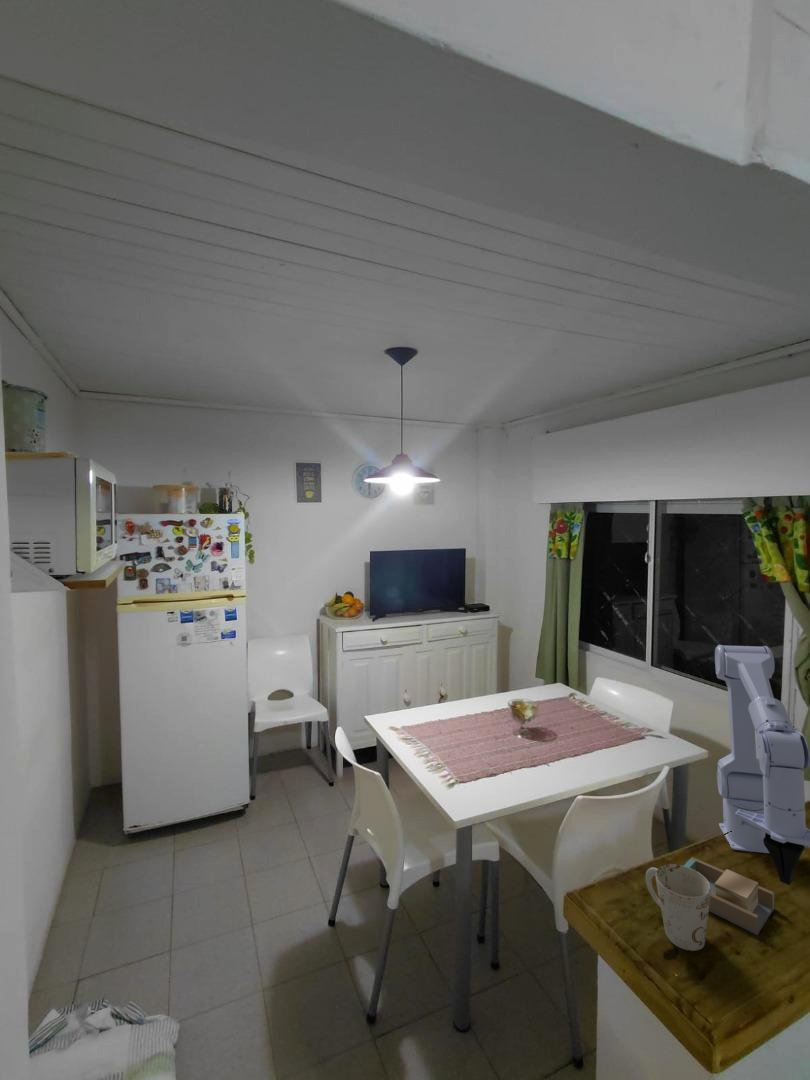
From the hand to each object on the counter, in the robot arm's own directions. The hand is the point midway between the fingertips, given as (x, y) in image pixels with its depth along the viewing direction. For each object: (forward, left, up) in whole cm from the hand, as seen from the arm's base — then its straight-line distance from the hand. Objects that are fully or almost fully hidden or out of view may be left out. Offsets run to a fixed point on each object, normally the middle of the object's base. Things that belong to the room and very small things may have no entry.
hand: (786, 880), depth 89 cm
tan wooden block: (-4, -6, -8) cm, 11 cm away
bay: (-6, -8, -9) cm, 14 cm away
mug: (+3, -18, -9) cm, 21 cm away
